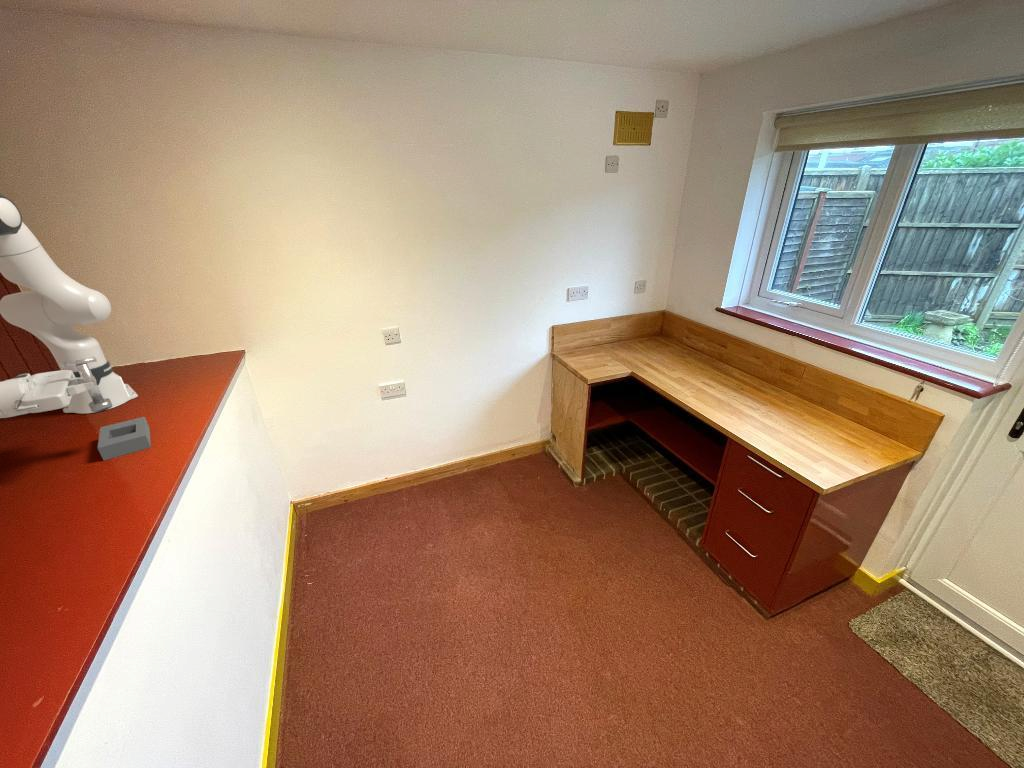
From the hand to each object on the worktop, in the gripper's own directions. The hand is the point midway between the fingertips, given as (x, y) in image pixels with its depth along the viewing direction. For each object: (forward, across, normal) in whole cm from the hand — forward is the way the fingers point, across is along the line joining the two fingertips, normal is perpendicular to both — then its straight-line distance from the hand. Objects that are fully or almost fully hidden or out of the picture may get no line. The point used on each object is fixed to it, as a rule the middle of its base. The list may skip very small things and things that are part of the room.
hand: (94, 382), depth 111 cm
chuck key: (-1, 0, +8) cm, 8 cm away
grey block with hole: (+1, 0, +20) cm, 20 cm away
